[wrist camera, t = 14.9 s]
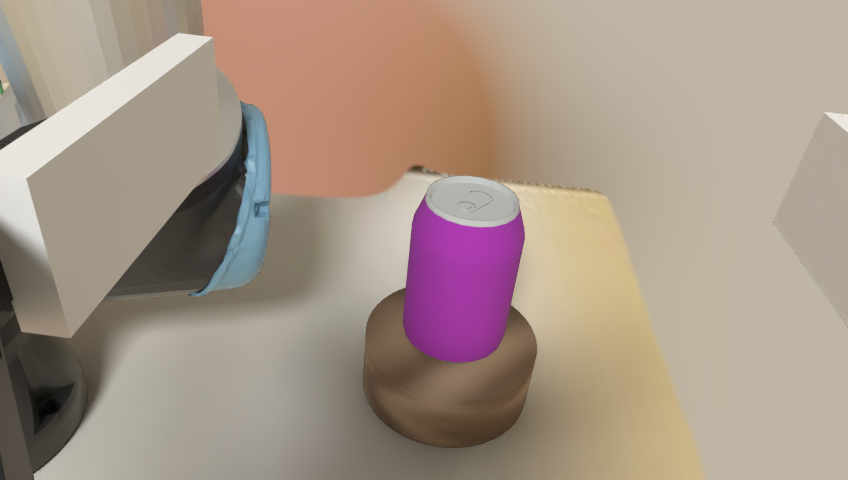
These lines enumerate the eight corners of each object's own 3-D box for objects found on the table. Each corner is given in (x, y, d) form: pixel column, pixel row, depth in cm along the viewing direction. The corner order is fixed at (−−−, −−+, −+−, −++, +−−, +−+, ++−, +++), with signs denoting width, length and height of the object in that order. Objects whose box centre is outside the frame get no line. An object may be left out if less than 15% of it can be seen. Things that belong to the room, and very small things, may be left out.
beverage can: (470, 387, 44) (497, 242, 38) (381, 339, 47) (391, 198, 41) (519, 330, 50) (550, 195, 43) (436, 291, 53) (453, 160, 46)
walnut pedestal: (331, 365, 51) (332, 318, 49) (450, 309, 59) (457, 265, 56) (435, 478, 44) (443, 428, 41) (558, 396, 51) (572, 350, 48)
